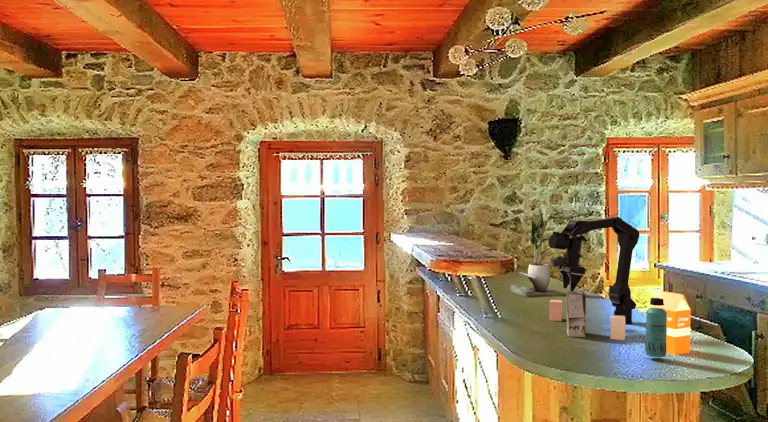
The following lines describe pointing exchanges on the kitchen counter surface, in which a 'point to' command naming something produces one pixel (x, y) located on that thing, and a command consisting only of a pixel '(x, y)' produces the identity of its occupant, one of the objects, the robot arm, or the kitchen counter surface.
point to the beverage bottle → (656, 329)
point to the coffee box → (576, 313)
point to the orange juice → (676, 322)
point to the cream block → (617, 327)
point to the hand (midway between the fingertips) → (568, 289)
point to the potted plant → (537, 266)
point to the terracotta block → (555, 310)
